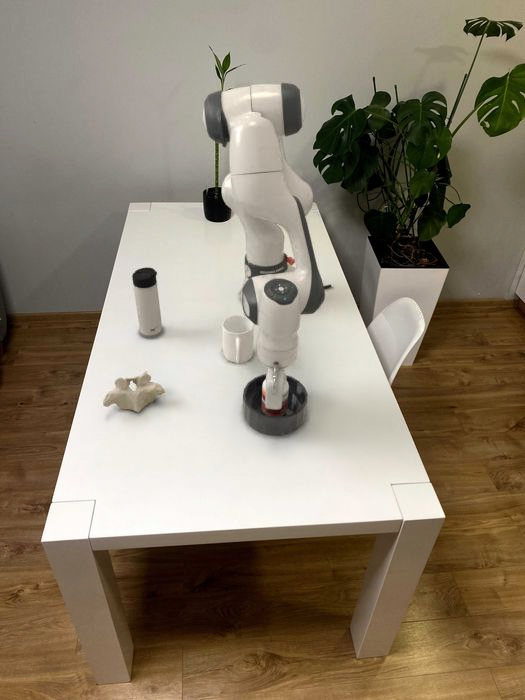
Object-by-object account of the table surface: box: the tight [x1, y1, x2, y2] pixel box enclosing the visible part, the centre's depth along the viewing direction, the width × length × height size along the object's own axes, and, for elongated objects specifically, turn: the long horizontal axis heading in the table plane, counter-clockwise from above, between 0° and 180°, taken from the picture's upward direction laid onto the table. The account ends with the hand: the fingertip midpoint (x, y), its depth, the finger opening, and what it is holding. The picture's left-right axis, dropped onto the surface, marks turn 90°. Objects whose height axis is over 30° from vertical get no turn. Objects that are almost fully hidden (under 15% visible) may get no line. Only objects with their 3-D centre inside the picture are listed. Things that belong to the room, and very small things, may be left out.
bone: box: [102, 370, 166, 413], centre depth 131 cm, size 9×14×8 cm, turn 125°
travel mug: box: [131, 267, 163, 339], centre depth 149 cm, size 6×7×20 cm
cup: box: [221, 314, 255, 365], centre depth 144 cm, size 8×12×10 cm
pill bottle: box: [262, 372, 289, 417], centre depth 128 cm, size 6×6×11 cm
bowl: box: [242, 373, 309, 436], centre depth 130 cm, size 15×15×6 cm
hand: (274, 394), depth 128 cm, fingers closed on pill bottle, 6 cm apart
